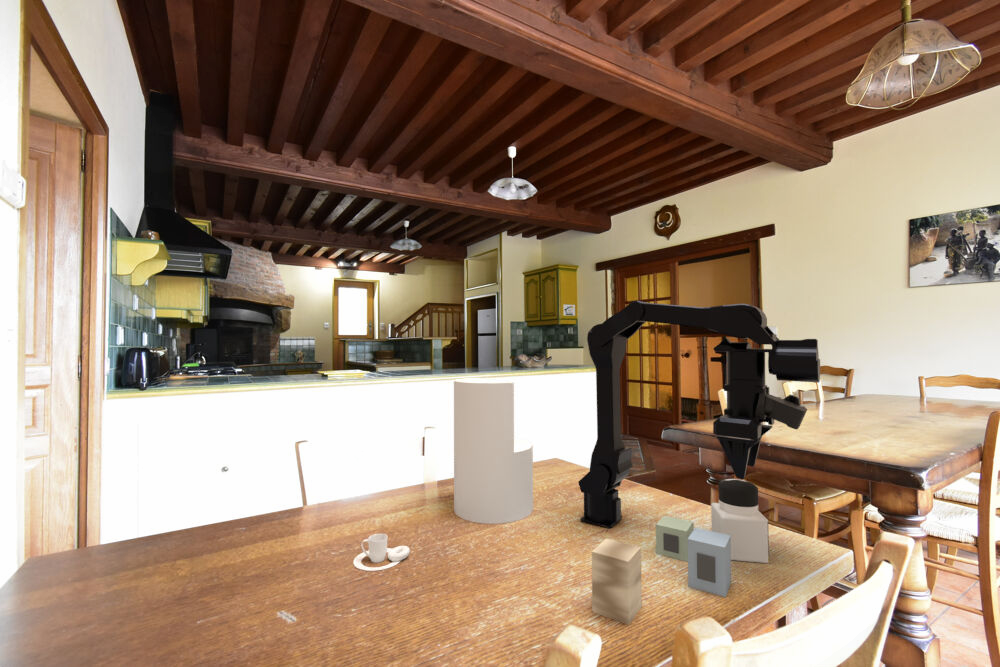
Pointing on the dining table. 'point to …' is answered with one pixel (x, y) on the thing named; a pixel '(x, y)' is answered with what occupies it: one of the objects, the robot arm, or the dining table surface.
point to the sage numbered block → (673, 537)
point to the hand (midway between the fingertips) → (745, 472)
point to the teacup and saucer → (380, 553)
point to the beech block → (616, 580)
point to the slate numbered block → (709, 561)
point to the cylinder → (489, 454)
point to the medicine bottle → (741, 521)
